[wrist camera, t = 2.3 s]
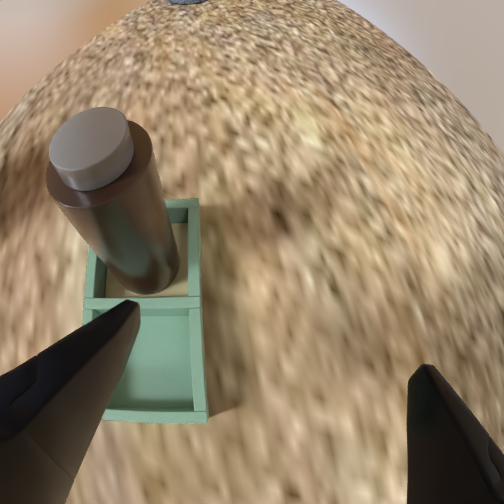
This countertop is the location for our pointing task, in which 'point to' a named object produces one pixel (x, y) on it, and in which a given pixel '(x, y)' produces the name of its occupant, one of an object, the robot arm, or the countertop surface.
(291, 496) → the countertop surface
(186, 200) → the caddy
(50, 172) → the pepper mill
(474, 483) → the robot arm
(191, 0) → the moka pot
